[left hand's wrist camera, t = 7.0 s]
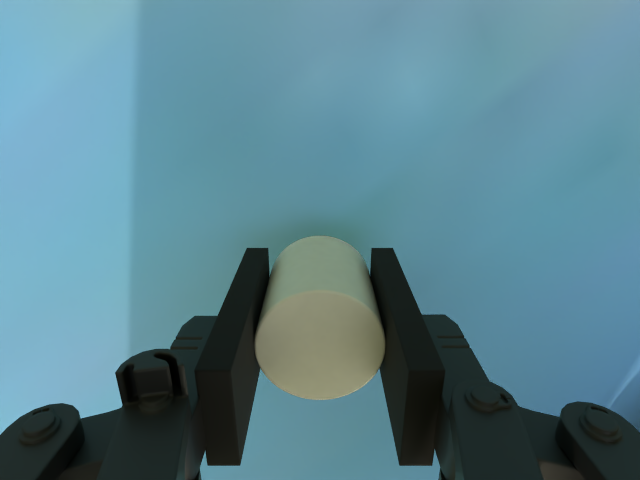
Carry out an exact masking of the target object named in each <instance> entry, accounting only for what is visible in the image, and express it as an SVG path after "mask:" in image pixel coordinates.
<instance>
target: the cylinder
mask: <svg viewBox="0 0 640 480" xmlns="http://www.w3.org/2000/svg"><path fill="white" fill-rule="evenodd" d="M385 346H386V338H385V333H384V329H383V325H382V321H381V317H380V313H379V310H378V306H377V302H376V298H375V294H374V290H373V286H372V282H371V278H370V275H369V271H368V267H367V265H366V262H365V261H364V259H363V257H362V256H361V254H360V253H359V252H358V251H357V250H356V249H355V248H354V247H352V246H351V245H350V244H348V243H346V242H345V241H343V240H340V239H338V238H334V237H330V236H310V237H306V238H303V239H300V240H297V241H295V242H293V243H292V244H290V245H289V246H287V247H286V248H285V249H284V250H283V251H282V252H281V253H280V254H279V256H278V257H277V259H276V260H275V262H274V264H273V267H272V270H271V274H270V278H269V282H268V286H267V290H266V294H265V298H264V302H263V306H262V310H261V313H260V317H259V321H258V325H257V329H256V333H255V339H254V348H255V355H256V358H257V361H258V364H259V366H260V368H261V370H262V371H263V373H264V374H265V375H266V377H267V378H268V379H269V380H270V381H271V382H272V383H273V384H275V385H276V386H277V387H279V388H280V389H282V390H283V391H285V392H287V393H289V394H292V395H295V396H297V397H301V398H306V399H313V400H327V399H334V398H339V397H342V396H346V395H348V394H350V393H353V392H355V391H356V390H358V389H360V388H361V387H363V386H364V385H365V384H367V383H368V382H369V381H370V380H371V379H372V378H373V376H374V375H375V374H376V373H377V371H378V369H379V368H380V366H381V364H382V361H383V359H384V355H385Z"/></svg>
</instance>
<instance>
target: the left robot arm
mask: <svg viewBox="0 0 640 480" xmlns="http://www.w3.org/2000/svg"><path fill="white" fill-rule="evenodd" d="M269 278H270V275H269V256H268V248H247V249H246V252H245V254H244V256H243V258H242V261H241V263H240V265H239V268H238V270H237V272H236V275H235V277H234V279H233V282H232V284H231V286H230V289H229V291H228V293H227V296H226V298H225V300H224V302H223V305H222V307H221V309H220V312H219V314H218V316H194V317H193V318H192V319H190V320H189V321H188V322H187V323H185V324H184V325H183V326H182V327H181V329H180V331H179V333H178V335H177V336H176V340H174V342H173V343H172V345H171V347H170V350H169V349H154V350H149V351H144V352H142V353H139V354H137V355H135V356H132V357H131V358H129V359H128V360H127V361H125V362H124V363H122V364H121V365H120V367H119V368H118V370H117V371H116V372H115V374H116V378H117V383H118V387H119V391H120V396H121V400H122V404H123V405H122V408H119V409H117V410H114V411H110V412H107V413H103V414H98V415H94V416H90V417H86V418H82V419H81V418H80V415H79V411H78V410H77V409H76V408H75V407H74V406H73V405H68V404H64V403H60V404H50V405H46V406H43V407H40V408H37V409H34V410H32V411H30V412H29V413H27V414H25V415H23V416H21V417H20V418H18V419H17V420H16V421H15V422H14V423H12V424H11V425H10V426H9V427H8V428H7V429H6V430H5V431H4V432H3V433H2V434H1V435H0V480H201V473H200V465H201V462H202V459H203V455H204V452H205V451H206V458H207V465H208V466H240V464H241V459H242V454H243V449H244V445H245V440H246V435H247V430H248V425H249V420H250V415H251V411H252V406H253V401H254V396H255V391H256V386H257V381H258V377H259V372H260V366H259V364H258V361H257V358H256V355H255V348H254V339H255V333H256V329H257V325H258V321H259V317H260V313H261V310H262V306H263V302H264V298H265V294H266V290H267V286H268V282H269ZM370 278H371V282H372V286H373V290H374V294H375V298H376V302H377V306H378V310H379V313H380V317H381V321H382V325H383V329H384V333H385V338H386V346H385V355H384V359H383V361H382V364H381V366H380V373H381V378H382V383H383V388H384V393H385V397H386V402H387V407H388V412H389V417H390V422H391V427H392V431H393V436H394V441H395V446H396V451H397V456H398V461H399V465H400V466H432V463H433V456H434V449H435V451H436V454H437V458H438V461H439V464H440V473H439V480H640V433H639V432H638V431H637V430H636V429H635V428H634V426H633V425H631V424H630V423H629V422H628V421H626V420H625V419H624V418H623V417H622V416H620V415H619V414H617V413H615V412H613V411H611V410H609V409H607V408H605V407H602V406H599V405H596V404H593V403H587V402H574V403H569V404H567V405H566V406H565V407H564V408H563V409H562V410H561V414H560V417H557V416H553V415H548V414H544V413H540V412H536V411H532V410H528V409H525V408H522V407H520V406H518V405H517V403H516V401H515V400H514V398H513V397H512V395H511V394H509V393H508V392H507V391H506V390H505V389H503V388H502V387H500V386H498V385H496V384H494V383H492V382H490V381H489V380H488V378H487V376H486V374H485V373H484V371H483V369H482V367H481V365H480V364H479V362H478V360H477V358H476V357H475V355H474V353H473V351H472V349H471V348H470V347H469V344H468V342H467V341H466V339H465V338H464V335H463V333H462V332H461V330H460V328H459V326H458V325H457V324H456V323H455V322H454V321H452V320H451V319H450V318H448V317H447V316H446V315H421V312H420V310H419V308H418V305H417V303H416V301H415V299H414V296H413V294H412V292H411V289H410V287H409V285H408V282H407V280H406V278H405V275H404V273H403V271H402V268H401V266H400V264H399V261H398V259H397V257H396V255H395V252H394V250H393V248H372V250H371V270H370Z"/></svg>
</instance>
